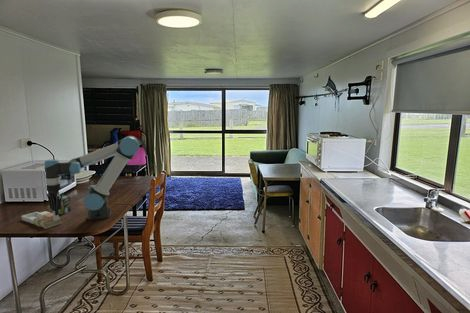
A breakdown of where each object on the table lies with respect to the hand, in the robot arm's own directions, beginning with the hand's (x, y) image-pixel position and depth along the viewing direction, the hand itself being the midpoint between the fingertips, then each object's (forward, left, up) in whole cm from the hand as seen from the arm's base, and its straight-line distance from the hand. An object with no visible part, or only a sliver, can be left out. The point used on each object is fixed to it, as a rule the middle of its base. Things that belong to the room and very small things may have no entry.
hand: (56, 219), depth 188 cm
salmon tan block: (+7, 0, -1) cm, 7 cm away
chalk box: (+25, -18, -5) cm, 31 cm away
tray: (+25, 0, -5) cm, 26 cm away
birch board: (+10, 0, -5) cm, 11 cm away
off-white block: (+14, 0, -1) cm, 14 cm away
